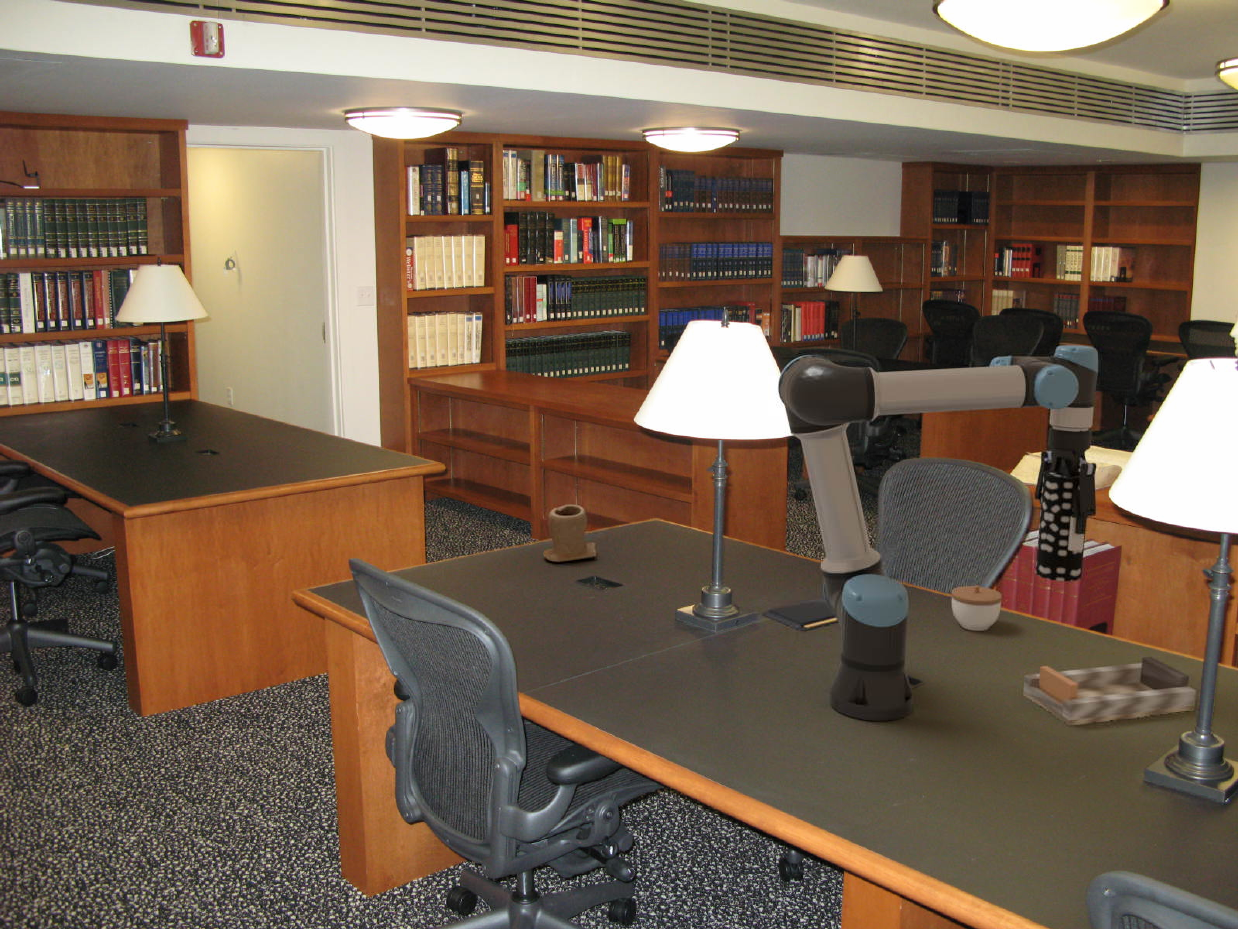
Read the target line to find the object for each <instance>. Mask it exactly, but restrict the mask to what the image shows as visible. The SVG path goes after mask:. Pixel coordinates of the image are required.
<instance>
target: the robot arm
mask: <svg viewBox="0 0 1238 929" xmlns="http://www.w3.org/2000/svg"><path fill="white" fill-rule="evenodd" d="M1053 354H1054V355H1051V356H1017V355H1016V356H1012V355H1008V356H997V357H995V358H993V359H992V360H991V362H990V364H989V365H988V366H978V367H976V366H975V367H961V368H958V367H957V368H940V369H921V370H903V371H902V370H900V371H899V370H898V371H886V372H885V371H881V372H880V371H879V372H877V371H875V370H874V369H873V368H872V367H871V366H870V367H869V366H867V367H866V366H865V367H863V366H862V367H854V366H853V367H852V366H844V365H839V364H838V363H837V364H836V363H834V362H832V361H831V360H830V359H829V358H827V357H825V356H822V355H819V354H812V355H811V354H809V355H807V354H806V355H801V356H798V357H797V358H794V359H793V360H791V361H790V362H789V363H787V365H785V367H784V368H783V369H782V371H781V372H780V375H779V379H778V385H777V390H778V396H779V399H780V401H781V402H782V404H783V405H784V408H785V413H786V417H787V422H788V426H789V431H790V434H791V435H792V436H793V437H796V438H797V439H799V440H800V442H801V447H802V452H803V456H804V462H805V466H806V470H807V475H808V479H809V485H810V489H811V493H812V497H813V502H814V507H815V512H816V515H817V516H816V517H817V520H818V525H819V528H820V534H821V538H822V542H823V547H824V552H825V558H824V559H823V561H822V562H821V563H820V569H821V574H822V578H823V587H822V588H823V590H822V591H823V599H825V601H826V604H827V606H828V608H829V609H830V610H831V612H832V613H833V614H834V616H835V617H836V619H837V621H838V623H837V624H839V625H840V627H841V628H840V629H841V637H840V639H841V640H840V662H839V665H838V667H837V670H836V673H835V676H834V678H833V680H832V683H831V685H830V689H829V699H828V700H829V705H830V706H831V707H832V708H833V709H834V710H835V711H837V712H839V713H840V714H843V715H845V716H848V717H851V718H855V719H859V720H863V721H880V722H881V721H883V722H884V721H885V722H886V721H893V720H898V719H902V718H904V717H906V716H908V715H910V714H911V712H912V711H913V706H914V696H913V692H912V689H911V684H910V682H909V681H910V680H909V677H908V674H907V670H906V650H907V630H908V614H909V609H910V607H909V605H910V604H909V596H908V591H907V588H906V587H905V586H904V584H902V583H901V582H900V581H898V580H896V579H894V578H890V577H889V576H886V575H885V572H884V566H883V562H882V557H881V554H880V552H878V551H877V550H875V549H873V548H872V547H871V545H870V540H869V534H868V531H867V530H868V529H867V527H866V526H867V525H866V520H865V516H864V512H863V507H862V501H861V498H860V493H859V487H858V484H857V478H856V474H855V470H854V463H853V459H852V455H851V449H850V445H849V441H848V436H847V432H846V431H847V428H848V427H849V425H850V424H853V423H854V424H856V423H863V422H864V423H865V422H874V420H875V419H876V418H877V417H878V416H889V415H904V414H905V415H906V414H907V415H908V414H921V413H923V414H925V413H943V412H957V411H959V412H960V411H975V410H976V411H977V410H991V409H992V410H993V409H996V410H997V409H1011V408H1013V409H1014V408H1038V407H1040V408H1041V407H1042V408H1044V409H1047V410H1050V415H1049V425H1050V426H1052V427H1050V428H1049V430H1048V438H1047V439H1048V440H1047V441H1048V442H1047V445H1048V446H1049V448H1052V450H1046V451H1045V450H1044V451H1041V453H1040V466H1039V471H1038V477H1037V481H1036V486H1035V491H1034V495H1033V496H1034V498H1035V500H1038V501H1039V504H1040V505H1041V500H1042V488H1043V475H1044V472H1045V471H1049V472H1052V473H1055V472H1057V473H1059V474H1062V475H1065V477H1067V478H1079V483H1080V491H1079V490H1075V489H1073V499H1072V506H1073V511H1074V514H1073V515H1071V520H1070V531H1069V543H1068V550H1070V551H1073V550H1083V543H1084V544H1085V542H1084V534H1085V535H1086V533H1087V532H1086V531H1087V521H1088V517H1093V516H1096V514H1097V507H1096V505H1097V502H1096V476H1095V475H1096V471H1097V464H1096V462H1088V461H1087V458H1086V452H1087V451H1088V450H1089V449H1091V446H1092V445H1091V444H1092V436H1093V434H1092V433H1093V431H1092V430H1091V429H1090V428H1091V427H1093V419H1094V407H1095V396H1096V387H1097V379H1098V373H1099V369H1098V368H1099V357H1098V356H1099V353H1098V350H1097V348H1095V347H1093V346H1087V345H1080V344H1079V345H1072V344H1071V345H1070V344H1066V345H1059V346H1057V347H1056V349H1055V353H1053ZM1075 476H1079V477H1075Z"/></svg>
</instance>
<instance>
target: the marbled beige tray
mask: <svg viewBox="0 0 1238 929" xmlns="http://www.w3.org/2000/svg"><path fill="white" fill-rule="evenodd" d="M1057 672H1058V673H1060V674H1061V675H1063V676H1065V677H1066V678H1068V679H1070V680H1071V681H1073V682H1075V683H1076V684H1078V693H1077V699H1070V700H1064V704H1062V703H1060V702H1059V701H1057V700H1056V699H1054V698H1053V697H1051V696H1049V695H1048V694H1046V693H1045V692H1043V691H1042V690H1040V689H1039V676H1040V673H1031V674H1025V675H1024V678H1023V679H1024V680H1023V692H1022V693H1023V696H1024V697H1025V696H1026V697H1025V698H1027V699H1028V698H1029V700H1030V699H1031V700H1032V702H1033V703H1034V702H1036V703H1037V704H1038V705H1037V704H1036V703H1035V704H1036V705H1037V706H1039V705H1040V706H1042V707H1043V708H1045V709H1046V710H1047V711H1046V710H1045V709H1044V710H1045V711H1046V712H1048V711H1049V712H1051V713H1052V714H1053V716H1054V715H1055V716H1056V717H1055V716H1054V717H1055V718H1056V719H1058V718H1059V719H1058V720H1060V719H1061V720H1062V721H1061V720H1060V721H1061V722H1063V723H1064V722H1065V723H1064V724H1066V725H1067V724H1068V725H1067V726H1078V725H1086V724H1095V723H1094V722H1096V723H1103V722H1111V721H1110V720H1113V721H1118V720H1117V719H1122V720H1127V719H1128V720H1129V719H1138V718H1137V717H1139V718H1146V717H1145V716H1147V717H1151V716H1150V715H1156V716H1159V715H1158V714H1162V713H1167V712H1179V711H1187V710H1192V709H1193V710H1194V711H1195V705H1196V704H1195V703H1196V693H1197V690H1196V689H1194V688H1192V687H1190V686H1189V683H1190V682H1189V681H1190V676H1189V675H1188V674H1186V673H1184V672H1182V671H1180V670H1179V669H1177V668H1174V667H1172V666H1170V665H1168V664H1166V663H1164V662H1162V661H1160V660H1158V659H1157V658H1155V657H1153V656H1146V657H1145V656H1144V657H1142V659H1141V662H1138V663H1130V664H1129V663H1128V664H1120V665H1109V666H1100V667H1092V668H1083V669H1071V670H1070V669H1069V670H1063V671H1061V670H1060V671H1057ZM1031 700H1030V701H1031ZM1040 706H1039V707H1040ZM1042 707H1041V708H1042ZM1043 708H1042V709H1043ZM1049 712H1048V713H1049ZM1051 713H1050V714H1051ZM1052 714H1051V715H1052Z"/></svg>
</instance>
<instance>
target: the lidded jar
mask: <svg viewBox="0 0 1238 929" xmlns="http://www.w3.org/2000/svg"><path fill="white" fill-rule="evenodd" d="M950 595H951V610H952V614H953V616H954V619H955V620H956V621H957V622H958V623H959V624H960V627H961V626H962V627H961V628H963V629H965V630H969V631H975V632H976V631H978V632H979V631H980V632H981V631H982V632H983V631H987V630H988V629H990V627H991V626H992V625H993V624H995V623H996V622H997V620H998V618H999V615H1000V612H1001V606H1002V601H1003V600H1002V599H1003V595H1002V594H1001V592H999V590H995V589H992V588H988V587H985V586H980V585H978V584H977V585H966V586H958V587H955V588H952V590H951V594H950Z"/></svg>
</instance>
